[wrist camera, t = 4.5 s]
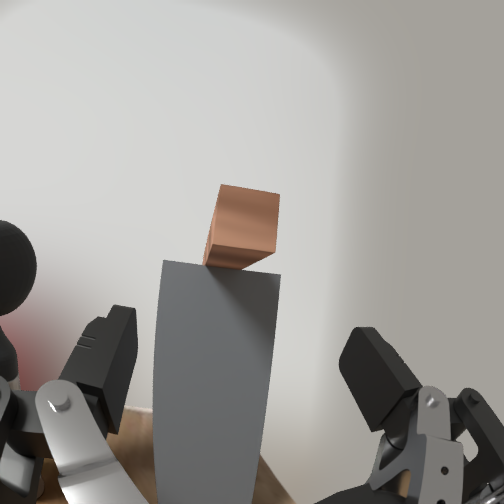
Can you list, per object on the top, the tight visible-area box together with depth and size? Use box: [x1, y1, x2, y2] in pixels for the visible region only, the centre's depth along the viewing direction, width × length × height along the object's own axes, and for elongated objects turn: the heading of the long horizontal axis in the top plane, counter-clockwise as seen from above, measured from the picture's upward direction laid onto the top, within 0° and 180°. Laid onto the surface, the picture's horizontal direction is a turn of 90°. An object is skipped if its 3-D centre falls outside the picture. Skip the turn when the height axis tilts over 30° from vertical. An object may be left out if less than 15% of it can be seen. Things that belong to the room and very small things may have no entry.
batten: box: [203, 184, 280, 270], centre depth 26 cm, size 26×3×3 cm, turn 12°
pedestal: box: [153, 260, 281, 504], centre depth 24 cm, size 8×10×32 cm
